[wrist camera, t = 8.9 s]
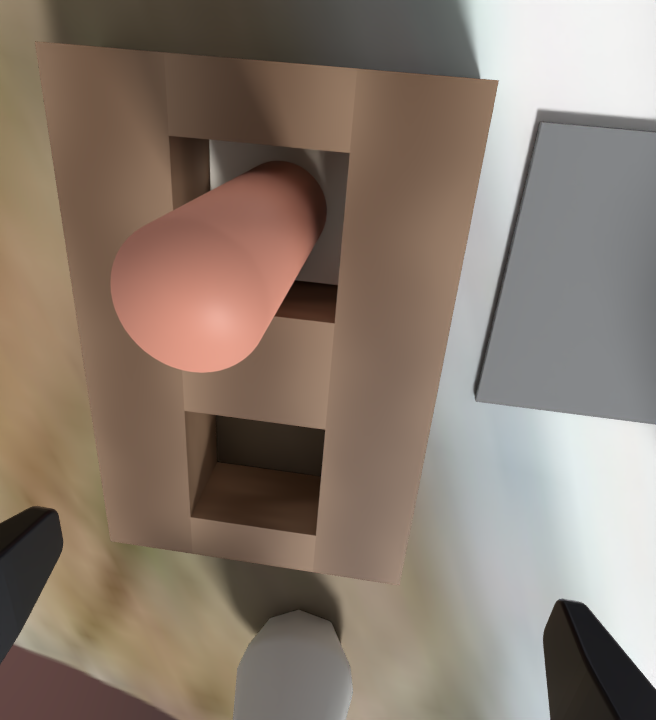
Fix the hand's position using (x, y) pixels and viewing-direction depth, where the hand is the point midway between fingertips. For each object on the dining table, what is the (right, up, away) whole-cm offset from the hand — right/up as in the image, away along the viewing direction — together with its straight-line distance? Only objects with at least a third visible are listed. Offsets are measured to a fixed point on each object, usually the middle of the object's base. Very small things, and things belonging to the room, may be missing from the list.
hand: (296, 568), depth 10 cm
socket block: (-1, +5, +11) cm, 13 cm away
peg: (-1, +9, +9) cm, 13 cm away
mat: (+12, +6, +9) cm, 16 cm away
